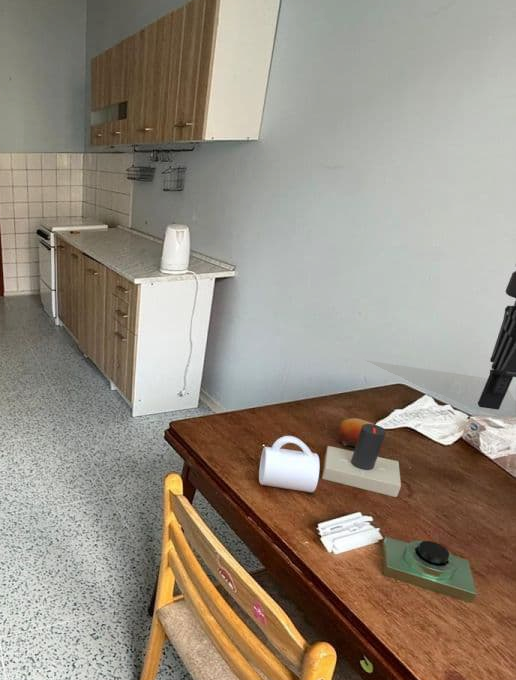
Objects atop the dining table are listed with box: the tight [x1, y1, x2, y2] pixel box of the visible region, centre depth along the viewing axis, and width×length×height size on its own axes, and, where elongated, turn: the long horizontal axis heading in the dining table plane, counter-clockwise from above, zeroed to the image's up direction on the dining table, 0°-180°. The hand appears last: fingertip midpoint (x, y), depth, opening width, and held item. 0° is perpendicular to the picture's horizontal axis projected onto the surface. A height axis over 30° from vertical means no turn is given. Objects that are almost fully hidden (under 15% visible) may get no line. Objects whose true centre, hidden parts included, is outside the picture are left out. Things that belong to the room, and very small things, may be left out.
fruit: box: [338, 417, 374, 448], centre depth 114 cm, size 8×8×8 cm
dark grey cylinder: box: [351, 423, 387, 470], centre depth 101 cm, size 4×4×9 cm
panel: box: [321, 445, 402, 498], centre depth 104 cm, size 14×10×3 cm
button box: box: [381, 536, 478, 604], centre depth 79 cm, size 12×8×4 cm, turn 61°
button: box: [417, 540, 450, 566], centre depth 78 cm, size 4×4×2 cm
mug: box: [258, 435, 321, 493], centre depth 100 cm, size 8×10×12 cm
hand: (488, 406), depth 84 cm, fingers closed
